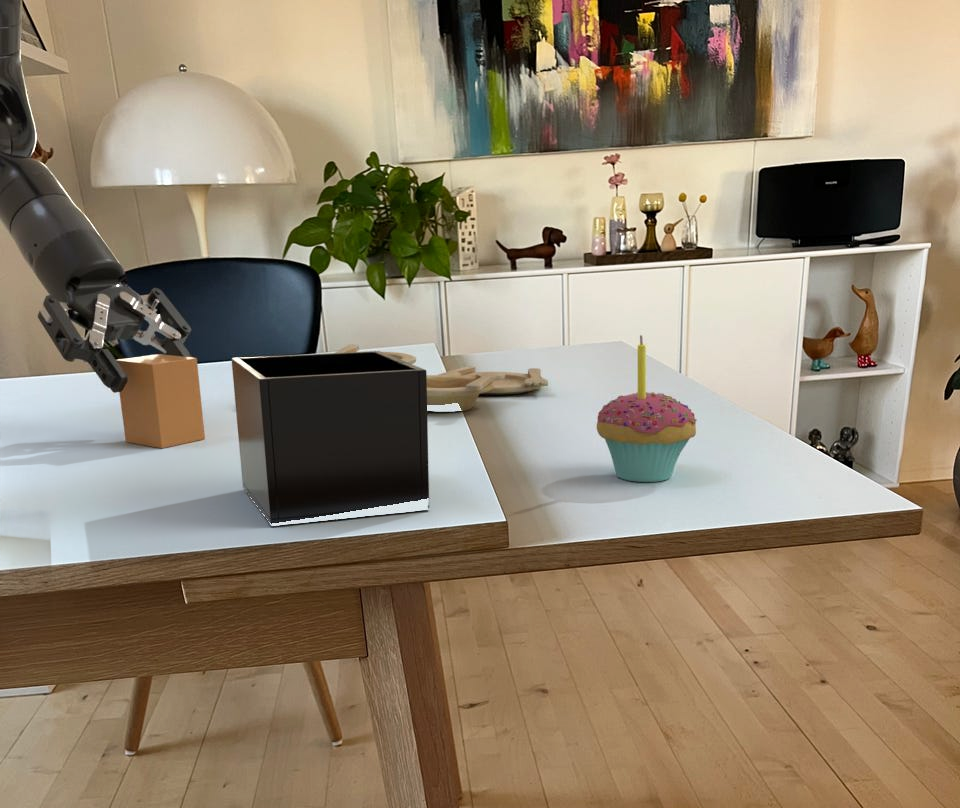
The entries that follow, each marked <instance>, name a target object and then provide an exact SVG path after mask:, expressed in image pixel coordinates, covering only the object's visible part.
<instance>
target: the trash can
mask: <svg viewBox="0 0 960 808" xmlns="http://www.w3.org/2000/svg"><path fill="white" fill-rule="evenodd" d="M383 352H384V351H381V350H371V351H369V350H368V351H357V352H346V353H335V352H328V353H327V352H326V353H308V354H306V353H305V354H285V355H267V356H247V357H232V358H231V359H230V360H231V370H232V380H233V392H234V402H235V403H234V404H235V414H236V415H235V416H236V424H237V436H238V448H239V458H240V459H239V460H240V470H241V471H240V472H241V480H242V481H241V482H242V489H243V488H244V489H245V490H246V491H247V493H248V494H249V496H250V497H251V498H252V500H253V501H254V502H255V504H256V505H257V506H258V508H259V509H260V510H261V512H262V513H263V514H264V515H265V517H266V518H267V519H268V521H269V522H270V523H271V524H272V523H279V522H286V521H291V520H300V519H305V518H314V517H319V516H326V515H333V514H339V513H344V512H350V511H356V510H362V509H368V508H374V507H379V506H387V505H393V504H399V503H404V502H410V501H418V500H421V499H427V498H429V499H430V480H429V479H430V478H429V475H430V474H429V471H430V470H429V432H428V431H429V428H428V427H429V425H428V412H427V375H428V374H427V370H426V369H424V368H422V367H420V366H417V365H415V364H410V363H407V362H405V361H403V360H400V359H398V358H395V357H393V356H390V355H388V354H385V353H383ZM244 489H243V490H244ZM247 493H246V494H247ZM249 496H248V497H249ZM250 497H249V498H250ZM252 500H251V501H252ZM255 504H254V505H255ZM258 508H257V509H258ZM261 512H260V513H261Z"/></svg>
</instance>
